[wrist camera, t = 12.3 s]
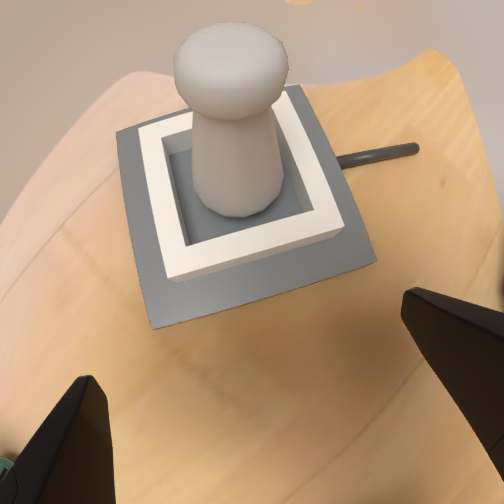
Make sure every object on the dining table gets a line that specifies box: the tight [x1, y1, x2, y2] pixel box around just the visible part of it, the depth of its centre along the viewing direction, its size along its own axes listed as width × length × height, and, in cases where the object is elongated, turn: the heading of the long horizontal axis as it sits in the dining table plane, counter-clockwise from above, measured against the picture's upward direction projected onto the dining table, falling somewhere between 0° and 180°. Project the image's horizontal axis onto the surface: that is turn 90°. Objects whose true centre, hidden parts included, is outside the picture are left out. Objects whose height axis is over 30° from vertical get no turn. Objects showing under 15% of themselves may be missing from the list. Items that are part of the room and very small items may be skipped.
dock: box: [116, 85, 420, 330], centre depth 21 cm, size 24×16×4 cm, turn 107°
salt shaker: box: [174, 22, 289, 218], centre depth 15 cm, size 6×6×13 cm
